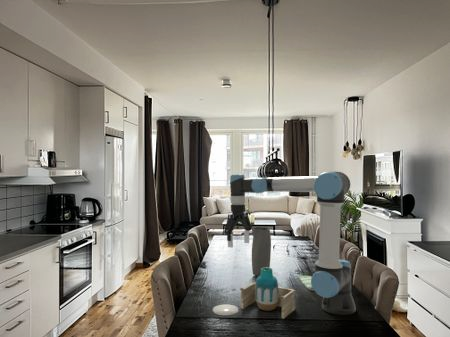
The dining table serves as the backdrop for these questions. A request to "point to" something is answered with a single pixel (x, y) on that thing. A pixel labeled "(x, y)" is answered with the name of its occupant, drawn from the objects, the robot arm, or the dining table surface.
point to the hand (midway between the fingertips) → (238, 245)
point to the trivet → (225, 310)
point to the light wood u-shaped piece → (284, 298)
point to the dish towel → (306, 282)
